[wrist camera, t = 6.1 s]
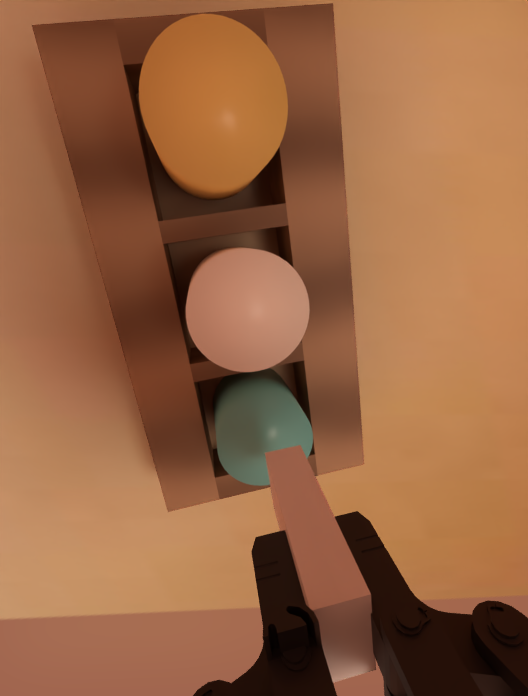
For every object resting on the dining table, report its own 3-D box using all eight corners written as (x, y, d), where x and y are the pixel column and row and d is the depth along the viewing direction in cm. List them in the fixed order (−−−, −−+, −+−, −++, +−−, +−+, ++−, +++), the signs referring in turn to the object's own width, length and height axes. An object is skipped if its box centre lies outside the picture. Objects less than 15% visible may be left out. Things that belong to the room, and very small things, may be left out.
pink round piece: (179, 254, 18) (173, 259, 13) (275, 240, 18) (302, 239, 13) (199, 347, 19) (199, 382, 14) (286, 331, 20) (315, 359, 15)
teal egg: (206, 373, 21) (208, 411, 17) (284, 358, 22) (307, 389, 17) (220, 442, 23) (226, 495, 18) (293, 426, 23) (317, 473, 19)
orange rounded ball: (144, 87, 15) (121, 19, 11) (254, 77, 16) (278, 8, 11) (169, 206, 17) (158, 193, 12) (269, 192, 17) (295, 175, 13)
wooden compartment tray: (67, 71, 17) (32, 25, 14) (305, 51, 19) (332, 3, 15) (172, 469, 24) (167, 511, 21) (339, 431, 26) (364, 464, 22)
